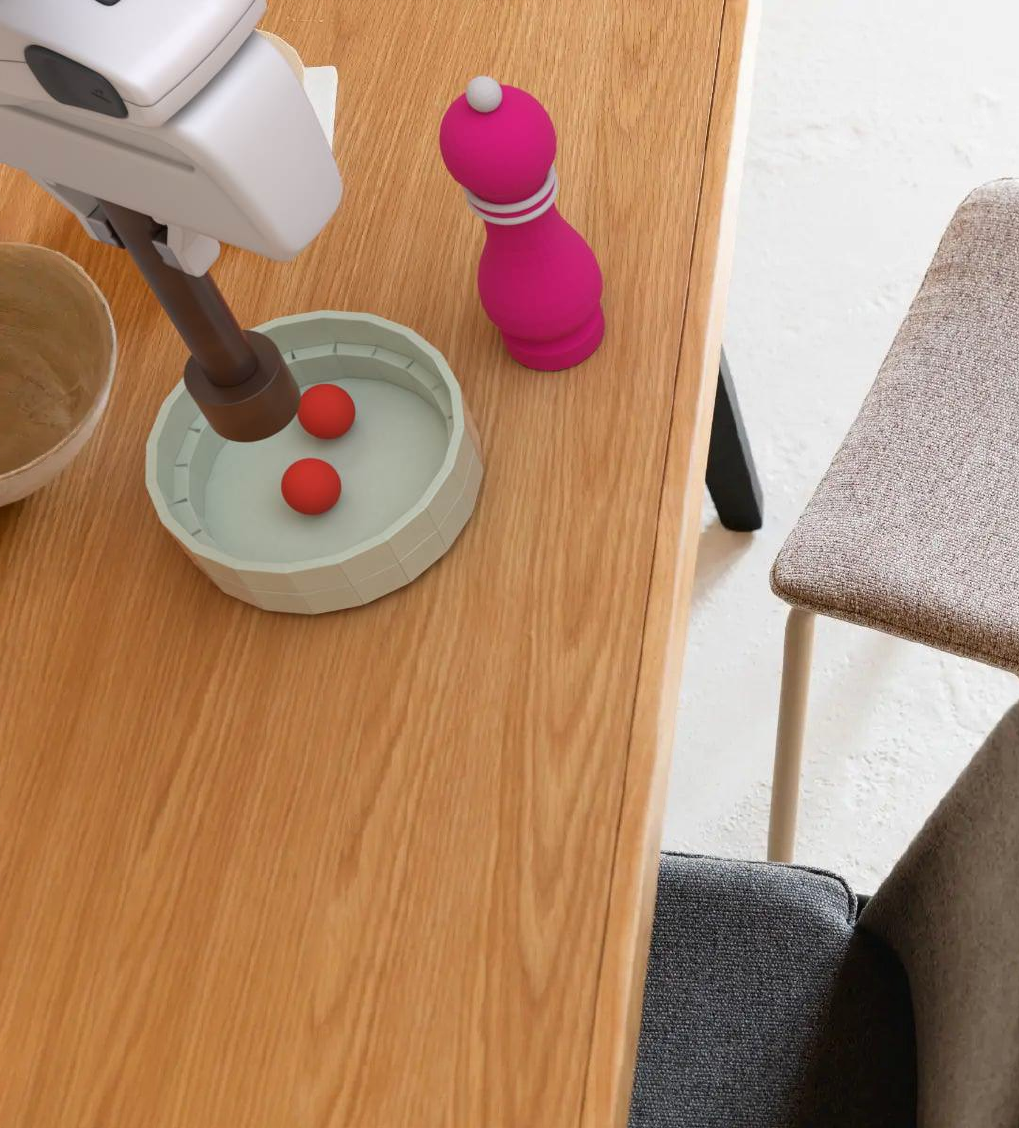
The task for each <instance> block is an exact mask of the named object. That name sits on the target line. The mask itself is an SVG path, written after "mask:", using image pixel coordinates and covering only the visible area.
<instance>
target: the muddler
mask: <svg viewBox="0 0 1019 1128" xmlns="http://www.w3.org/2000/svg"><path fill="white" fill-rule="evenodd" d="M94 197H95V196H94ZM95 199H96V200H97V202H98V204H99V205H100V207H101V209H102V210H103V212H104V213H105V215H106V217H107V218H108V220H109V221H110V223H111V225H112V226H113V228H114V229H115V231H116V233H117V234H118V236H119V238H120V239H121V241H122V242H123V244H124V246H125V247H126V249H125V250H127V252H128V254H129V255H130V257H131V258H132V260H133V262H134V263H135V266H136V267H137V268H138V270H139V272H140V274H141V275H142V276H143V278H144V280H145V281H146V283H147V285H148V286H149V287H150V289H151V291H152V292H153V294H154V295H155V297H156V299H157V300H158V302H159V304H160V305H161V307H162V308H163V310H164V312H165V313H166V315H167V317H168V318H169V320H170V322H171V323H172V325H173V326H174V328H175V329H176V331H177V332H178V334H179V336H180V337H181V339H182V340H183V342H184V344H185V345H186V348H187V349H188V350H189V352H190V355H189V356H188V359H187V360H186V362H185V365H184V369H183V377H184V383H185V386H186V388H187V390H188V392H189V393H190V395H191V397H192V398H193V400H194V401H195V403H196V404H197V406H198V407H199V409H200V411H201V412H202V414H203V415H204V417H205V418H206V420H207V421H208V423H209V424H210V426H211V427H212V429H213V430H214V431H215V432H216V433H217V434H218V435H220V436H221V437H223V438H225V439H227V440H231V441H234V442H243V443H247V442H256V441H260V440H264V439H266V438H269V437H271V436H273V435H275V434H277V433H279V432H280V431H281V430H283V429H284V428H285V427H286V426H287V425H288V424H289V423H290V422H291V421H292V420H293V418H294V417H295V415H296V414H297V412H298V409H299V406H300V401H301V394H300V389H299V386H298V384H297V382H296V381H295V379H294V377H293V375H292V373H291V371H290V369H289V368H288V366H287V364H286V362H285V360H284V358H283V356H282V355H281V353H280V351H279V349H278V347H277V346H276V344H275V343H274V342H273V341H272V340H271V339H270V338H269V337H267V336H265V335H264V334H261V333H259V332H256V331H251V330H250V329H242V327H241V325H240V324H239V322H238V320H237V319H236V316H235V314H234V312H233V311H232V309H231V307H230V306H229V304H228V302H227V300H226V299H225V296H224V295H223V293H222V292H221V289H220V288H219V286H218V285H217V283H216V281H215V278H214V277H213V276H212V274H211V272H210V270H209V269H208V270H207V271H206V273H205V274H204V275H203V276H200V277H195V276H193V275H190V274H187V273H185V272H182V271H180V270H177V269H175V268H172V267H169V266H167V265H165V263H164V262H163V257H162V256H161V255H160V254H159V253H158V252H157V250H156V248H155V247H154V245H153V243H152V240H153V239H154V238H155V237H156V235H157V234H158V233H159V232H160V231H161V230H162V229H165V228H167V225H166V224H165V225H162V224H159V223H157V222H156V221H154V220H153V218H152V217H151V216H148V215H146V214H143V213H140V212H137V211H134V210H132V209H129V208H126V207H123V206H120V205H117V204H115V203H112V202H109V201H106V200H103V199H101V198H98V197H95Z"/></svg>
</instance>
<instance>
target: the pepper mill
mask: <svg viewBox="0 0 1019 1128" xmlns="http://www.w3.org/2000/svg"><path fill="white" fill-rule="evenodd" d="M438 136H439V137H438V140H439V141H438V142H439V149H440V150H439V151H440V154H441V157H442V161H443V163H444V165H445V168H446V169H447V171H448V173H449V174H450V175H451V177H452V178H453V179H454V180H455V181H456V183H458V185H461V187H462V191H463V193H464V195H465V200H466V203H467V205H468V207H469V209H470V210H471V211H472V212H473V213H474V214H475V215H476V216H477V217H479V218H480V219H481V220H482V221H483V224H484V227H485V228H484V229H485V232H486V239H485V242H484V246H483V249H482V251H481V255H480V258H479V263H478V269H477V289H478V295H479V299H480V303H481V306H482V309H483V311H484V312H485V314H486V316H487V317H488V319H489V321H491V322H492V323H493V324H494V326H496V327H497V328H498V329H499V332H500V333H499V334H500V336H501V338H502V341H503V344H504V346H505V349H506V350H507V352H508V353H509V355H510V356H511V357H512V358H513V359H514V360H515V361H517V362H518V363H519V364H521V365H523V366H525V367H527V368H530V369H533V370H538V371H548V372H549V371H551V372H553V371H555V372H556V371H559V370H564V369H569V368H571V367H574V366H576V365H578V364H580V363H582V362H584V361H585V360H587V358H589V357H590V356H591V355H593V353H595V351H596V350H597V348H598V347H599V346H600V344H601V342H602V340H603V337H604V333H605V327H606V326H605V325H606V324H605V323H606V321H605V317H604V313H603V308H602V305H601V299H602V293H603V288H604V281H603V274H602V271H601V268H600V265H599V263H598V260H597V257H596V255H595V253H594V251H593V249H592V248H591V247H590V246H589V244H588V242H587V241H586V240H585V239H584V237H583V236H582V235H581V234H580V233H579V232H578V230H576V229H575V228H574V226H573V227H572V225H571V224H570V223H568V221H567V220H566V219H565V218H564V217H562V215H561V214H560V213H559V211H558V209H557V206H556V203H555V200H556V198H557V196H558V193H559V178H558V175H557V173H556V167H555V164H554V161H555V159H556V155H557V143H558V141H557V135H556V130H555V127H554V123H553V121H552V119H551V116H550V115H549V113H548V111H547V110H546V108H545V107H544V106H543V104H542V103H540V101H539V100H538V99H537V98H536V97H534V96H533V95H532V94H531V93H529V92H527V91H525V90H523V89H521V88H518V87H515V86H512V85H508V84H502V83H499V82H498V81H496V80H495V79H494V78H492V77H490V76H487V75H477V76H475V77H473V78H472V79H471V80H470V81H469V82H468V84H467V85H466V89H465V92H463V93H462V94H461V95H459V96H457V98H456V99H454V100H453V101H452V102H451V104H450V105H449V107H448V108H447V109H446V111H445V113H444V115H443V117H442V119H441V123H440V127H439V135H438Z"/></svg>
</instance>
